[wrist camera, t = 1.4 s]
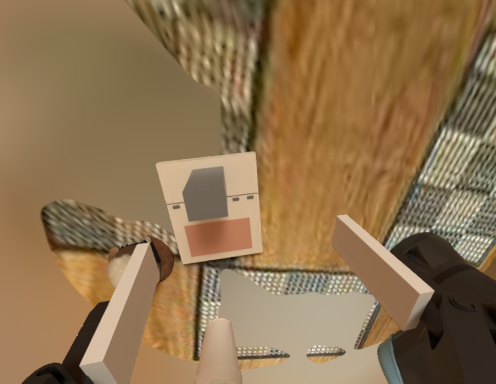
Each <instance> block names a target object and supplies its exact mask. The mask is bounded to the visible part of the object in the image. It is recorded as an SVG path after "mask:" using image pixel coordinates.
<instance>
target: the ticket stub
mask: <svg viewBox="0 0 496 384" xmlns="http://www.w3.org/2000/svg"><path fill="white" fill-rule="evenodd" d="M156 167H157V171H158V175H159V179H160V182H161V186H162V190H163V193H164V197H165V201H166V204H172V203H179V202H184V204H185V208H186V212H187V217H188V221H189V222H192V221H200V220H207V219H214V218H222V217H228V205H227V196H234V195H241V194H249V193H257V192H258V181H257V167H256V154H255V152H245V153H236V154H227V155H219V156H210V157H201V158H192V159H183V160H175V161H165V162H158V163H157V164H156Z"/></svg>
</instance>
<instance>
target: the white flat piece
mask: <svg viewBox="0 0 496 384" xmlns="http://www.w3.org/2000/svg"><path fill="white" fill-rule="evenodd" d="M227 205H228V217H222V218H214V219H207V220H200V221H192V222H189V221H188V217H187V212H186V208H185V204H184V202H179V203H172V204H168V205H167V207H168V211H169V215H170V218H171V222H172V226H173V229H174V233H175V237H176V241H177V245H178V248H179V252H180V256H181V259H182V263H183V264H188V263H195V262H201V261H208V260H214V259H221V258H228V257H234V256H241V255H247V254H254V253H260V252H263V250H262V237H261V223H260V209H259V196H258V192H257V193H249V194H241V195H234V196H227Z"/></svg>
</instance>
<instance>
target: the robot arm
mask: <svg viewBox="0 0 496 384" xmlns="http://www.w3.org/2000/svg"><path fill="white" fill-rule="evenodd" d="M332 246H333V247H334V249H335V250H336V251H337V252H338V253H339V255H340V256H341V257H342V258H343V260H344V261H345V262H346V263H347V264H348V266H349V267H350V268H351V269H352V270H353V272H354V273H355V274H356V275H357V277H358V278H359V279H360V280H361V281H362V283H363V284H364V285H365V286H366V287H367V289H368V290H369V291H370V292H371V294H372V295H373V296H374V297H375V298H376V300H377V301H378V302H379V303H380V304H381V306H382V307H383V308H384V309H385V311H386V312H387V313H388V314H389V315H390V317H391V318H392V319H393V320H394V322H395V323H396V324H397V325H398V326H399V328H400V329H401V330H399V331H398V332H396V333H395V334H391V335H390V337H389V338H388V339H387V340H385V341H384V342H383V343H381V344H380V345H379V347H378V351H377V352H378V353H377V354H378V359H379V363H380V366H381V368H382V371H383V373H384V375H385V377H386V379H387V381H388V383H389V384H496V281H495V280H494V279H492V278H490V277H489V276H487V275H486V274H484V273H482V272H481V271H479V270H478V269H476V268H474V267H473V266H471V265H470V264H468V263H467V262H466V261H465V260H464V259H463V257H462V256H461V255H460V254H459V253H458V252H457V251H456V250H455V249H454V248H453V247H452V245H451V244H450V243H449V242H448V241H446V240H445V239H443V238H442V237H440V236H438V235H436V234H434V233H430V232H423V233H418V234H415V235H412V236H410V237H408V238H406V239H404V240H403V241H401V242H400V243H399V244H398V245H396V246H395V247H394V248H393V250H392V251H388V250H387V249H386V248H384V247H383V246H382V245H381V244H380V243H379V242H378V241H376V240H375V239H374V238H373V237H372V236H371V235H369V234H368V233H367V232H366V231H365V230H364V229H363V228H361V227H360V226H359V225H358V224H357V223H356V222H354V221H353V220H352V219H351V218H350V217H349V216H347V215H340V216H337V218H336V224H335V230H334V236H333V242H332ZM159 274H160V273H159V270H158V267H157V264H156V261H155V258H154V255H153V252H152V248H151V245H150V243H143V244H137V246H136V248H135V250H134V252H133V254H132V256H131V258H130V260H129V262H128V265H127V267H126V269H125V271H124V273H123V275H122V277H121V279H120V281H119V283H118V286H117V288H116V290H115V292H114V294H113V296H112V298H111V300H110V301H106V302H100V303H98V304H97V305H96V306H95V308H94V309H93V310H92V311H91V312H90V313H89V315H88V317H87V318H86V320H85V322H84V324H83V327H82V328H81V329H80V331H79V333H78V336H77V337H76V339H75V341H74V342H73V344H72V346H71V348H70V350H69V352H68V353H67V355H66V357H65V359H64V361H63V363H62V364H60V363H51V364H47V365H44V366H43V367H41V368H39V369H38V370H36V371H35V372H33V373H32V374H31V375H30V376H29V377H27V378H26V379H25V380H24V382H23V383H22V384H129V383H130V380H131V376H132V372H133V368H134V365H135V361H136V358H137V354H138V351H139V347H140V343H141V340H142V336H143V332H144V329H145V325H146V321H147V318H148V314H149V310H150V307H151V303H152V299H153V296H154V292H155V288H156V285H157V281H158V277H159Z"/></svg>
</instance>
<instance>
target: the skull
mask: <svg viewBox="0 0 496 384" xmlns="http://www.w3.org/2000/svg"><path fill="white" fill-rule="evenodd" d="M146 236H148V237H149V238H152V239H151V240H152V241H151V243H150V245H151V248H152V252H153V255H154V258H155V261H156V264H157V267H158V270H159V273H160V274H159V277H158V281H157V283H159V282H160V281H163V280H164V279H165V278H166V277H167V276H168V275H169V274H170V272H171V270H172V268H173V256H172V254H171V251H170V249H169V248H168V246H166V244H164V242H162V241H160V240H159V239H157V238H154V237H152V236H149V235H146ZM143 243H148V242H147V241H146V240H143V242H141V243H135V244H130V245H128V244H127V245H126V246H125V247H122V246H121V250H120V249H119V246H118V247H116V248H115V247H114V248H112V249H110V252H109V269H108V275H109V279H110V282H111V284H112V285H113V287H114V288H115V289H116V288H117V286H118V283H119V281H120V279H121V277H122V275H123V273H124V271H125V269H126V267H127V265H128V262H129V260H130V258H131V256H132V254H133V252H134V250H135V248H136V246H137V244H143ZM161 245H162V246H161Z"/></svg>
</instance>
